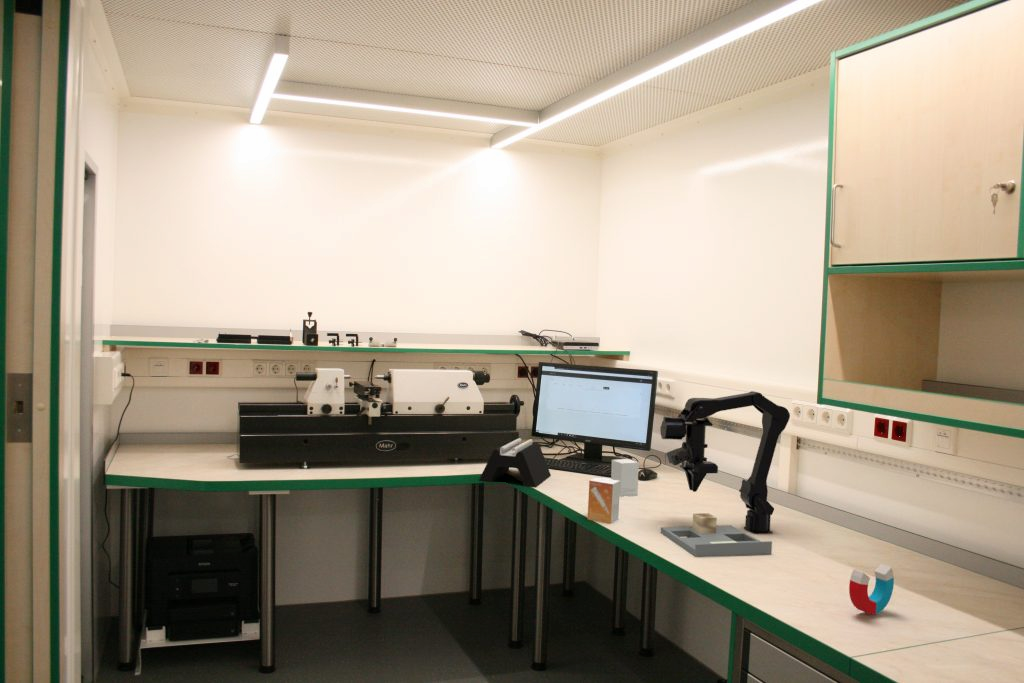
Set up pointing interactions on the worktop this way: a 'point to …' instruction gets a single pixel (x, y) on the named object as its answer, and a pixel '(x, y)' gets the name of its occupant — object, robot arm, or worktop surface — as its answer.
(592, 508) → the small box
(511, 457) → the device stand
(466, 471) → the worktop surface
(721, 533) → the board
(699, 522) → the maple block
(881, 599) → the magnet
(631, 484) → the supplement box
